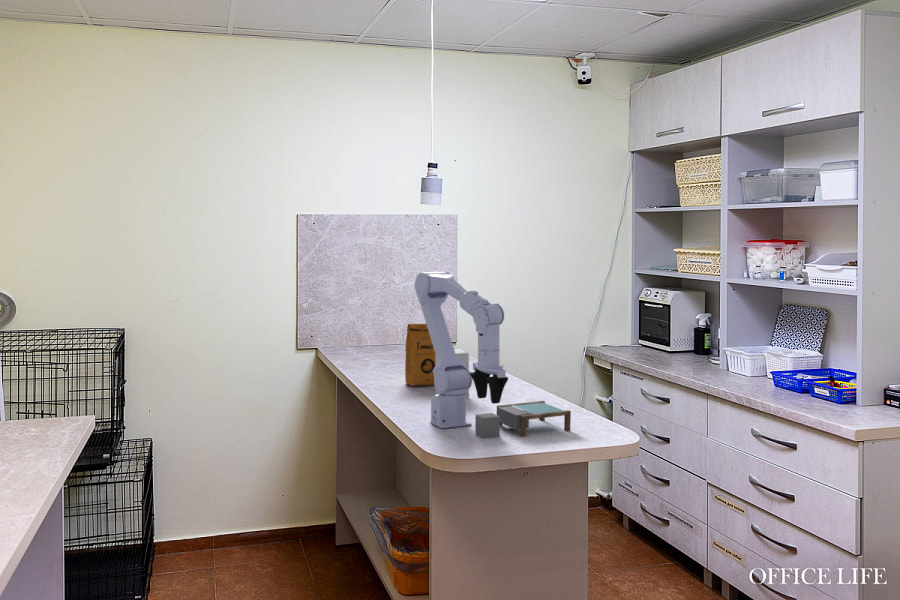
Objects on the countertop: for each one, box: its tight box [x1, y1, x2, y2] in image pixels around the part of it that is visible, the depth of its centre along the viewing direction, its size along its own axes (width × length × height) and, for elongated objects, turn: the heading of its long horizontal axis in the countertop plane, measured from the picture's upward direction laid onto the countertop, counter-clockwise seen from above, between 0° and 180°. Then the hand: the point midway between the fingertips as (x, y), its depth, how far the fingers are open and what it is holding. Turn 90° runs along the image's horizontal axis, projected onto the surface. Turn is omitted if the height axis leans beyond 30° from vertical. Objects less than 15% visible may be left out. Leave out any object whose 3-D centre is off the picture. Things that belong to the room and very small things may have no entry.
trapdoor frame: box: [496, 400, 572, 438], centre depth 220 cm, size 15×14×6 cm
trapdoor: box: [498, 402, 565, 431], centre depth 219 cm, size 15×11×4 cm
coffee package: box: [404, 323, 436, 387], centre depth 279 cm, size 10×12×22 cm
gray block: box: [474, 412, 501, 439], centre depth 212 cm, size 5×4×6 cm
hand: (488, 400), depth 211 cm, fingers open, 7 cm apart
